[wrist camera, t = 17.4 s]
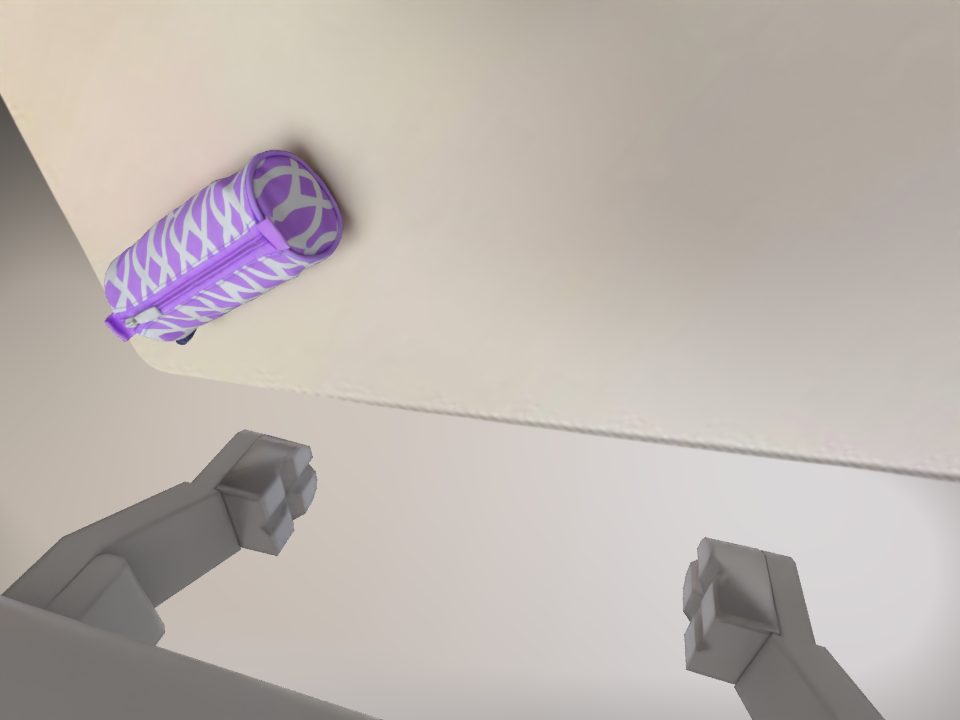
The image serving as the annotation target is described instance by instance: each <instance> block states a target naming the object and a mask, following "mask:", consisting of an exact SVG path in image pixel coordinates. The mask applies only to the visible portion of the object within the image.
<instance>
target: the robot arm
mask: <svg viewBox="0 0 960 720" xmlns="http://www.w3.org/2000/svg"><path fill="white" fill-rule="evenodd" d="M312 458H313V456H312V452H311V448H310V446H307V445H303V444H299V443H296V442H292V441H288V440H285V439H281V438H277V437H273V436H269V435H265V434H261V433H257V432H253V431H249V430H243V431H240V432H238V433H237V434H236V435H235V436H234V437H233V438H232V439H231V440H230V441H229V442H228V443H227V444H226V446H225V447H224V448H223V449H222V450H221V451H220V452H219V453H218V454H217V455H216V456H215V457H214V459H213V460H212V461H211V462H210V463H209V464H208V465H207V466H206V467H205V469H203V471H202V472H201V473H200V474H199V475H198V476H197V477H196V478H195V479H194V480H193V481H192V483H189V482H183V483H181V484H179V485H176V486H174V487H172V488H170V489H168V490H165V491H163V492H161V493H159V494H157V495H154V496H152V497H150V498H148V499H146V500H143V501H141V502H139V503H137V504H135V505H132V506H130V507H128V508H126V509H124V510H121V511H119V512H117V513H115V514H113V515H110V516H108V517H106V518H104V519H102V520H99V521H97V522H95V523H93V524H90V525H88V526H86V527H84V528H82V529H79V530H77V531H75V532H73V533H71V534H68V535H66V536H64V537H62V538H61V539H60V540H59V541H58V542H57V543H56V544H55V545H54V546H53V547H51V548H50V549H49V550H48V551H47V552H46V553H45V554H44V555H43V556H42V557H41V558H40V559H39V560H38V561H37V562H36V563H35V564H34V565H33V566H31V567H30V568H29V569H28V570H27V571H26V572H25V573H24V574H23V575H22V576H21V577H20V578H19V579H18V580H17V581H15V582H14V583H13V584H12V585H11V586H10V587H9V588H8V589H7V590H6V591H5V592H4V593H3V594H2V595H0V720H381V719H378V718H375V717H372V716H369V715H366V714H363V713H360V712H357V711H354V710H351V709H348V708H344V707H342V706H339V705H336V704H332V703H329V702H326V701H323V700H320V699H317V698H314V697H311V696H308V695H305V694H302V693H299V692H296V691H293V690H290V689H287V688H283V687H280V686H277V685H274V684H271V683H268V682H265V681H262V680H259V679H256V678H252V677H250V676H247V675H244V674H241V673H238V672H234V671H231V670H228V669H225V668H222V667H219V666H216V665H213V664H210V663H207V662H204V661H201V660H198V659H194V658H192V657H188V656H185V655H182V654H179V653H176V652H173V651H170V650H167V649H164V648H161V647H158V646H155V645H156V644H157V643H158V641H159V640H160V639H161V637H162V636H163V634H164V633H165V626H164V623H163V622H162V620H161V618H160V617H159V615H158V614H157V612H156V610H155V607H157V606H158V605H159V604H161V603H163V602H164V601H165V600H167V599H168V598H170V597H171V596H173V595H174V594H176V593H177V592H179V591H180V590H182V589H183V588H185V587H186V586H188V585H189V584H191V583H192V582H194V581H195V580H196V579H198V578H199V577H201V576H202V575H204V574H205V573H207V572H208V571H210V570H211V569H213V568H214V567H216V566H217V565H219V564H220V563H222V562H223V561H225V560H226V559H227V558H229V557H230V556H232V555H233V554H235V553H236V552H238V551H239V550H240V549H241V548H240V547H242V548H246V549H250V550H254V551H259V552H263V553H267V554H271V555H275V556H278V554H279V553H280V551H281V550H282V548H283V547H284V545H285V544H286V542H287V540H288V539H289V537H290V536H291V534H292V533H293V531H294V524H293V520H294V519H296V518H298V517H300V516H301V515H303V514H305V513H306V511H307V510H308V508H309V506H310V505H311V503H312V501H313V498H314V495H315V492H316V489H317V476H316V471H314V469H313V468H312V467H311V466H310V465H309V462H310V461H311V459H312ZM697 553H698V560H696V561H693V562H691V563H690V565H689V568H688V570H687V573H686V577H685V582H684V587H683V612H684V613H685V615H686V616H687V618H688V619H689V621H690V624H689V626H688V628H687V630H686V632H685V634H684V636H685V637H684V638H685V656H686V670H689V671H692V672H695V673H699V674H702V675H705V676H708V677H712V678H715V679H718V680H722V681H725V682H728V683H731V684H735V686H734V687H735V689H736V691H737V693H738V695H739V696H740V698H741V700H742V702H743V704H744V705H745V707H746V709H747V711H748V713H749V714H750V716H751V718H752V720H885V719H884V718H883V717H882V716H881V714H880V713H879V712H878V711H877V709H876V708H875V707H874V706H873V705H872V703H871V702H870V701H869V700H868V699H867V697H866V696H865V695H864V694H863V693H862V691H861V690H860V689H859V688H858V687H857V685H856V684H855V683H854V682H853V680H852V679H851V678H850V677H849V676H848V674H847V673H846V672H845V671H844V670H843V668H842V667H841V666H840V665H839V664H838V662H837V661H836V660H835V659H834V657H833V656H832V655H831V654H830V653H829V652H828V650H827V649H826V648H825V647H822V646H818V645H816V643H815V639H814V635H813V631H812V627H811V623H810V619H809V615H808V611H807V607H806V603H805V599H804V595H803V591H802V587H801V583H800V579H799V575H798V571H797V567H796V564H795V562H794V560H793V559H792V558H791V557H788V556H784V555H779V554H775V553H771V552H767V551H762V550H759V549H756V548H751V547H747V546H742V545H738V544H733V543H729V542H724V541H719V540H715V539H710V538H706V537H705V538H704V539H702V540H701V542H700V544H699V546H698V548H697Z"/></svg>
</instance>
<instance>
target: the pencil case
mask: <svg viewBox="0 0 960 720" xmlns="http://www.w3.org/2000/svg"><path fill="white" fill-rule="evenodd" d="M342 231H343V223H342V217H341V213H340V211H339V208H338V206H337V204H336V202H335V200H334V198H333V197H332V195H331V192H330V191H329V189H328V188H327V186H326V185H325V183H324V182H323V180H322V179H321V178H320V177H319V176H318V175H317V174H316V173H315V172H314V171H312V169H311V168H310V167H309V166H308V165H307V164H306V163H305V162H304V161H303V160H302V159H300V158H299V157H297V156H296V155H294V154H292V153H289V152H286V151H282V150H270V151H265V152H262V153H259V154H257V155H255V156H253V157H252V158H251V159H250V160H249V162H248V163H247V165H246V166H245V168H244V169H243V170H241V171H240V172H238V173H235V174H234V175H232V176H230V177H227V178H224V179H219V180H216V181H214V182H212V183H211V184H210V185H209V186H207V187H206V188H204V189H203V190H202V191H200V192H199V193H197V194H196V195H195V196H193V197H192V198H190V199H189V200H188V201H187V202H185V203H184V204H183V205H181V206H180V207H178V208H176V209H175V210H173V211H172V212H171V213H169V214H168V215H167V216H165V217H164V218H162V219H161V220H160V221H158V222H157V223H156V224H155V225H154V226H152V227H151V228H150V229H149V230H148V231H147V232H146V233H145V234H144V236H143V237H141V238H140V239H139V240H138V241H137V242H136V243H135V244H134V245H133V246H131V247H129V248H128V249H126V250H125V251H124V252H123V253H122V254H121V255H119V256H118V257H117V258H115V259H114V260H113V261H112V262H111V264H110V265H109V267H108V269H107V271H106V275H105V280H104V287H105V294H106V297H107V300H108V302H109V303H110V306H111V308H112V310H113V313H112V314H111V315H109V316H108V317H107V319H106V320H105V322H104V323H105V324H106V325H107V326H108V327H109V328H110V329H111V330H112V332H114V333H115V334H116V335H117V336H118V337H119V338H120V339H122V340H123V341H124V342H126V341H128V340H129V339H130V338H131V337H132V336H133V335H134V334H136V333H138V334H139V335H140V336H144V337H147V338H151V339H154V340H158V341H176V342H177V343H178V344H180V345H185V344H187V342H188V341H189V340H190V339H191V338H192V337H193V335H194V333H195V332H196V330H197V328H198V327H199V326H201V325H203V324H205V323H208V322H210V321H212V320H214V319H216V318H218V317H221V316H223V315H225V314H226V313H228V312H229V311H231V310H232V309H234V308H236V307H238V306H240V305H242V304H244V303H247V302H249V301H251V300H253V299H255V298H257V297H259V296H260V295H262V294H264V293H266V292H267V291H269V290H271V289H273V288H275V287H276V286H278V285H280V284H282V283H284V282H286V281H288V280H290V279H293V278H295V277H297V276H298V275H299V274H300V273H301V272H302V271H303V270H305V269H307V268H309V267H311V266H312V265H315V264H317V263H320V262H321V261H323V260H325V259H326V258H328V257H329V256H330V255H331V254H332V253H333V252H334V251H335V249H336V247H337V246H338V244H339V242H340V239H341V236H342Z"/></svg>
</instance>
